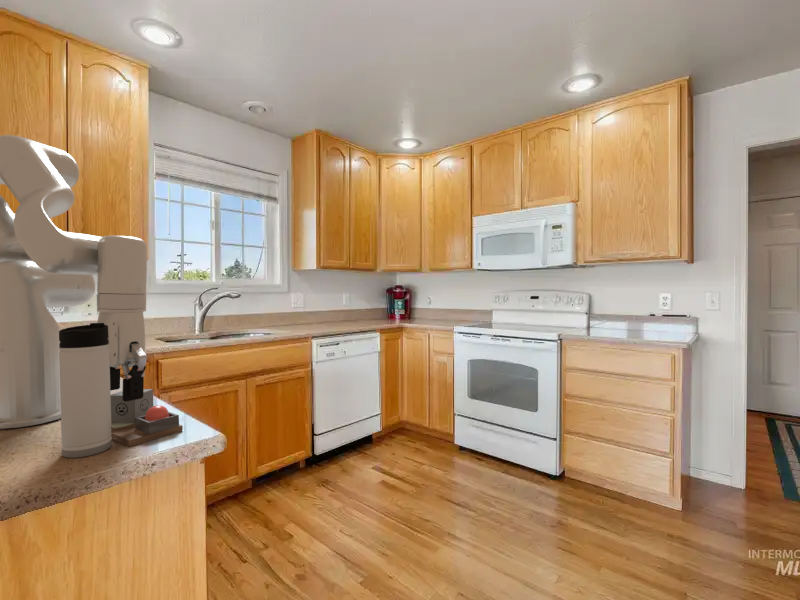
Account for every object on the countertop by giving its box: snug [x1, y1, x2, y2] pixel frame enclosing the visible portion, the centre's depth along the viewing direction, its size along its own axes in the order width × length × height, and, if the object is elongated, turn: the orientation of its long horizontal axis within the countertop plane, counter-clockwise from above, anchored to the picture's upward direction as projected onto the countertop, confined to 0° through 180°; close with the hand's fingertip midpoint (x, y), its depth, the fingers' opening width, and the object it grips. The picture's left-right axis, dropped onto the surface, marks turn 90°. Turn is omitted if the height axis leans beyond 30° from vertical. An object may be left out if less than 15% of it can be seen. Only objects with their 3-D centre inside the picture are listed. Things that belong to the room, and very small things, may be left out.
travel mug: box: [59, 322, 113, 459], centre depth 64 cm, size 6×7×20 cm
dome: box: [145, 404, 170, 422], centre depth 72 cm, size 4×4×4 cm
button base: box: [111, 411, 184, 447], centre depth 74 cm, size 15×9×3 cm, turn 56°
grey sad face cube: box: [111, 388, 154, 423], centre depth 77 cm, size 5×5×5 cm
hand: (121, 394), depth 76 cm, fingers open, 9 cm apart
